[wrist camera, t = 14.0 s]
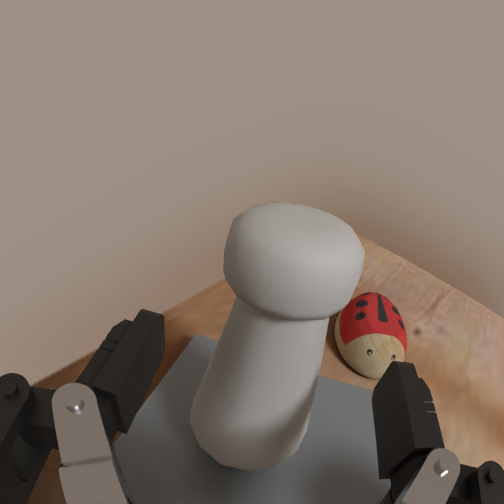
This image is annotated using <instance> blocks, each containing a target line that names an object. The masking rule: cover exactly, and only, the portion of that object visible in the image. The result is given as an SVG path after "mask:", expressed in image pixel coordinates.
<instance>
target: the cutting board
mask: <svg viewBox="0 0 504 504" xmlns="http://www.w3.org/2000/svg"><path fill="white" fill-rule="evenodd" d="M217 343H218V342H217V341H214V340H212V339H209V338H207V337H204V336H201V335H199V334H195V336H194V337H193V338H192V340H191V341H190V342H189V344H188V345H187V346H186V348H185V349H184V350H183V352H182V353H181V354H180V356H179V357H178V358H177V360H176V361H175V362H174V364H173V365H172V366H171V368H170V369H169V370H168V372H167V373H166V374H165V376H164V377H163V378H162V380H161V381H160V382H159V384H158V385H157V386H156V388H155V389H154V391H153V392H152V393H151V395H150V396H149V397H148V399H147V400H146V401H145V403H144V404H143V405H142V407H141V408H140V409H139V411H138V412H137V413H136V415H135V417H134V420H133V422H132V424H131V426H130V428H129V430H128V433H127V434H125V433H121V435H120V436H119V437H118V439H117V440H116V441H115V443H114V447H115V450H116V453H117V456H118V459H119V462H120V465H121V468H122V471H123V474H124V476H125V479H126V482H127V484H128V487H129V489H130V492H131V494H132V496H133V498H134V500H135V503H136V504H376V503H377V501H378V500H379V499H380V497H381V496H382V495H383V493H384V492H385V490H386V489H387V488H388V487H389V486H390V479H379V471H378V458H377V447H376V437H375V427H374V418H373V410H372V394H373V391H374V390H370V389H366V388H362V387H358V386H354V385H350V384H347V383H343V382H339V381H336V380H332V379H329V378H325V377H322V376H319V377H318V382H317V387H316V391H315V396H314V401H313V405H312V410H311V414H310V418H309V423H308V427H307V431H306V433H305V435H304V437H303V439H302V441H301V443H300V445H299V447H298V449H297V451H296V452H295V453H294V454H293V455H291V456H290V457H288V458H287V459H285V460H284V461H282V462H281V463H279V464H278V465H276V466H275V467H273V468H267V469H260V470H252V471H244V470H240V469H237V468H233V467H227V466H223V465H221V464H219V463H218V462H217V461H216V460H215V459H213V458H212V457H211V456H210V455H209V454H208V453H207V452H205V451H204V450H203V449H202V448H201V447H200V445H199V443H198V441H197V438H196V436H195V434H194V432H193V429H192V427H191V424H190V421H189V419H190V414H191V409H192V404H193V400H194V397H195V395H196V393H197V390H198V388H199V386H200V383H201V381H202V379H203V376H204V374H205V372H206V369H207V367H208V365H209V362H210V360H211V358H212V355H213V353H214V351H215V348H216V346H217Z"/></svg>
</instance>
